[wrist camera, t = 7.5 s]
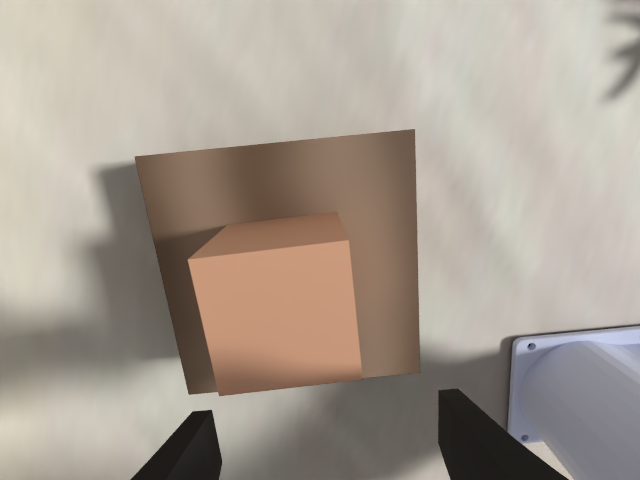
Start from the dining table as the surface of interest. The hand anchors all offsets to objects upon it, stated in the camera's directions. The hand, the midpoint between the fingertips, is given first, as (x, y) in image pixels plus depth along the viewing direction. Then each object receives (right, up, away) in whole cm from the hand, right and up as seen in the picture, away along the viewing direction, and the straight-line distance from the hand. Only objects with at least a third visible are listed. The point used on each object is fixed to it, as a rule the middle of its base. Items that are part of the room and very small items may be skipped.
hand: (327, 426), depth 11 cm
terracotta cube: (-2, +4, +5) cm, 7 cm away
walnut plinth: (-2, +5, +9) cm, 11 cm away
